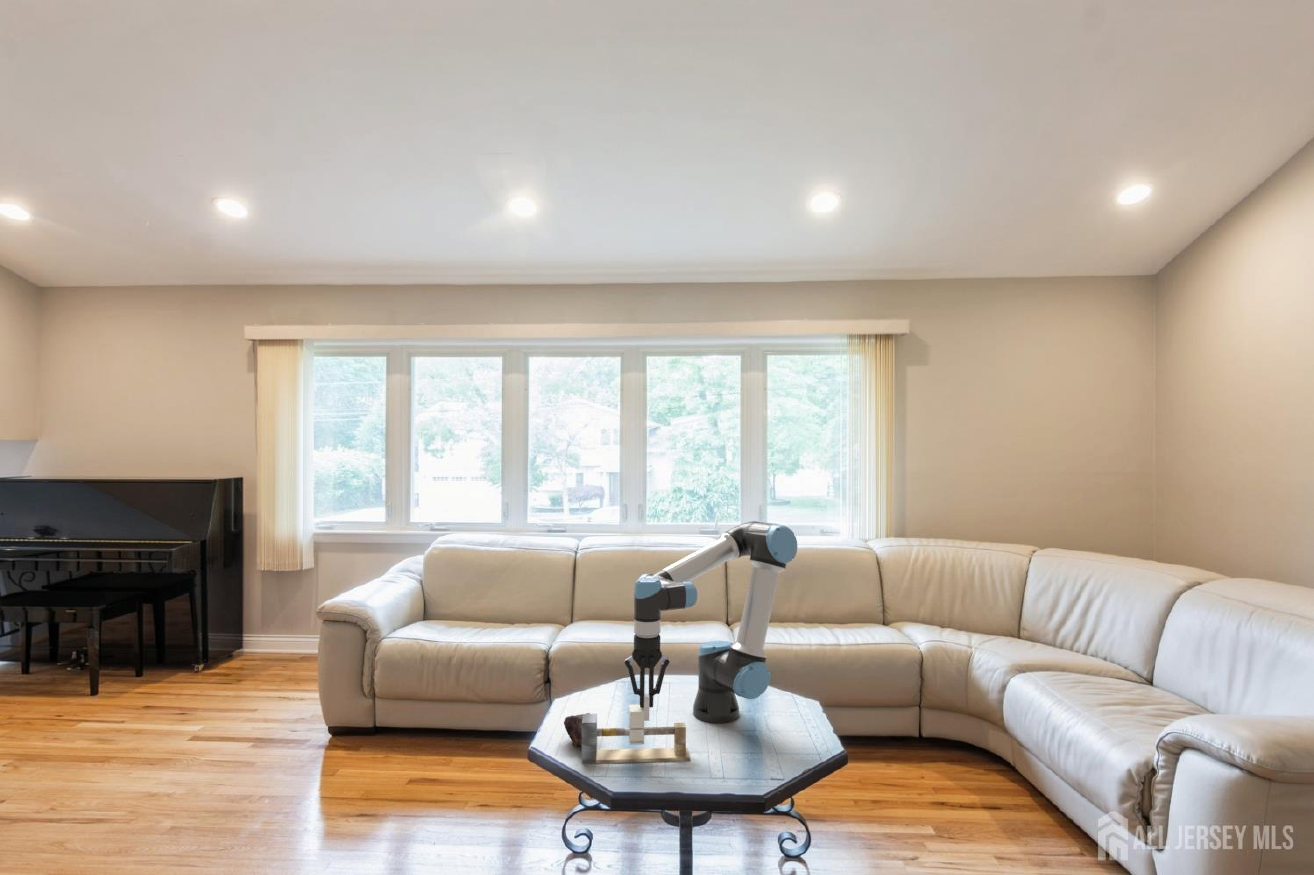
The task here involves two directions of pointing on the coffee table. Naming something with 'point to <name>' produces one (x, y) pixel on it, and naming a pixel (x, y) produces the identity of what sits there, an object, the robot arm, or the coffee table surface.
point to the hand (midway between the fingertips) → (646, 718)
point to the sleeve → (636, 725)
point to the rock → (574, 728)
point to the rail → (631, 755)
